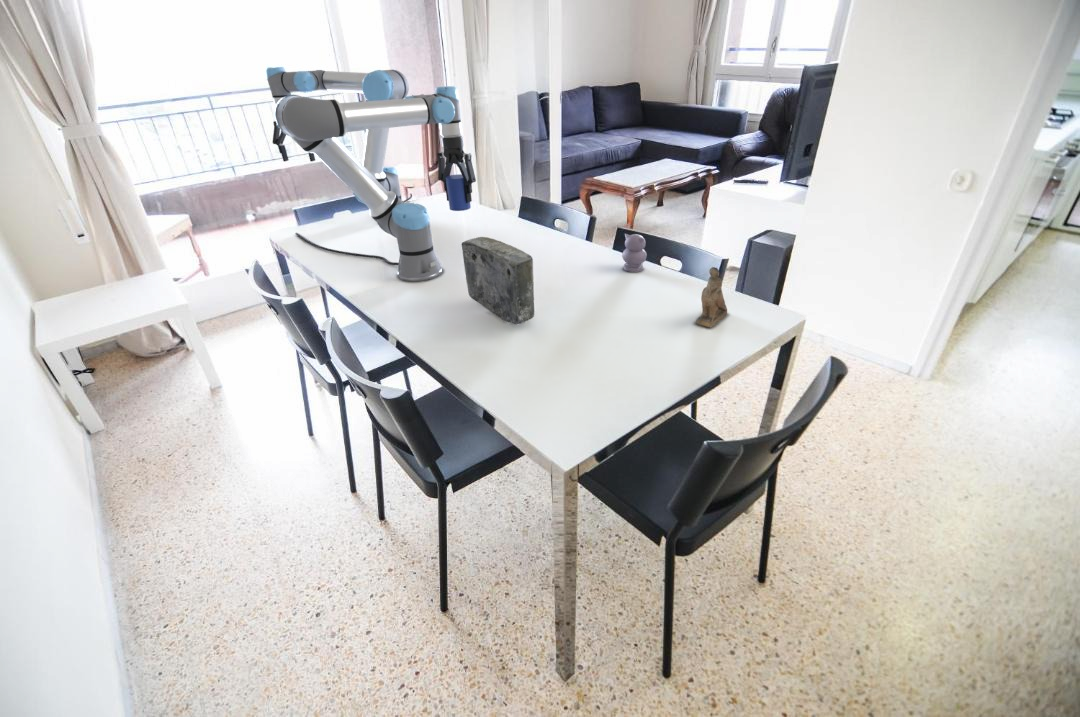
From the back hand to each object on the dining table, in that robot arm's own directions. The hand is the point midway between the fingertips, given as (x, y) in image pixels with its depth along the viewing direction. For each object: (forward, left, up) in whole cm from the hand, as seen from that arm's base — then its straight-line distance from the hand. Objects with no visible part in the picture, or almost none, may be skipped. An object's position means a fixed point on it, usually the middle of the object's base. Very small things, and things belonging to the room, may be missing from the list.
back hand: (299, 161), depth 224 cm
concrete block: (+85, +116, -28) cm, 146 cm away
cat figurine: (+44, +152, -28) cm, 161 cm away
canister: (+30, +85, -12) cm, 91 cm away
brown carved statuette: (+80, +175, -28) cm, 194 cm away
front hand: (+30, +85, -9) cm, 91 cm away
